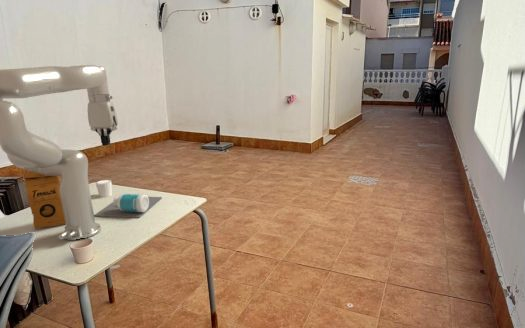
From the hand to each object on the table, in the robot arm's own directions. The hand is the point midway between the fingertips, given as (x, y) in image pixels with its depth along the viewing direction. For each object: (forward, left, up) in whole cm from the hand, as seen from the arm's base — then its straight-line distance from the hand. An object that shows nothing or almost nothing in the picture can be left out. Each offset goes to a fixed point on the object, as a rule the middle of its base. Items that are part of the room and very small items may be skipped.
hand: (106, 144), depth 138 cm
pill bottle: (-1, -14, -25) cm, 29 cm away
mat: (+5, -3, -29) cm, 30 cm away
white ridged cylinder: (+18, +16, -29) cm, 38 cm away
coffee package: (-14, +19, -29) cm, 38 cm away
